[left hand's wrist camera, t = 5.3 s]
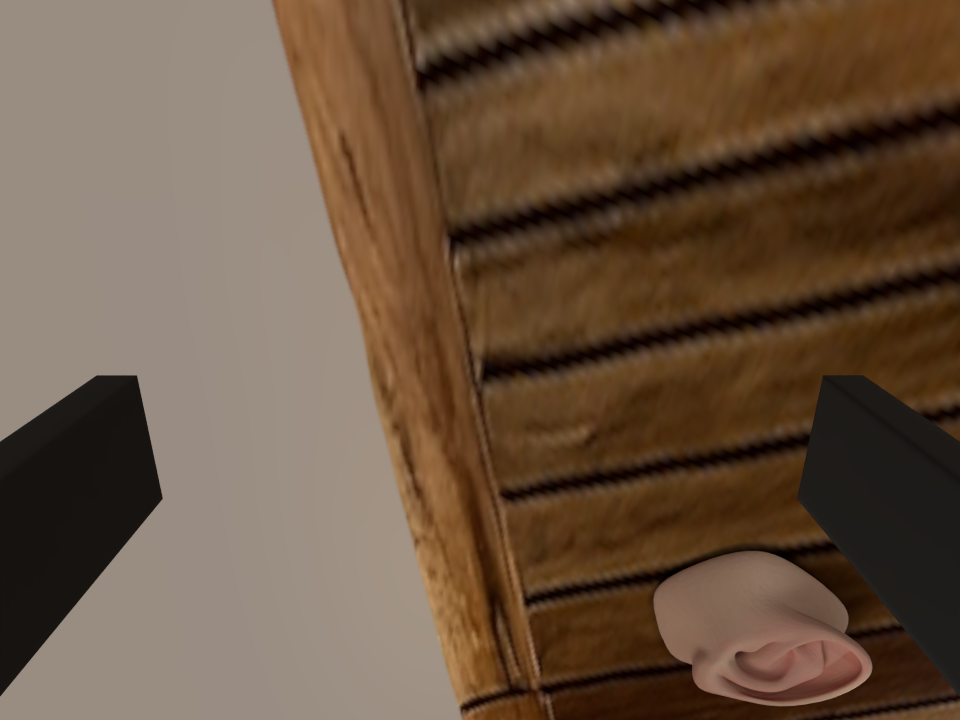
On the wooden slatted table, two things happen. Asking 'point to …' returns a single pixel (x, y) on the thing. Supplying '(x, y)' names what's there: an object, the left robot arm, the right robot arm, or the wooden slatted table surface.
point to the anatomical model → (759, 630)
